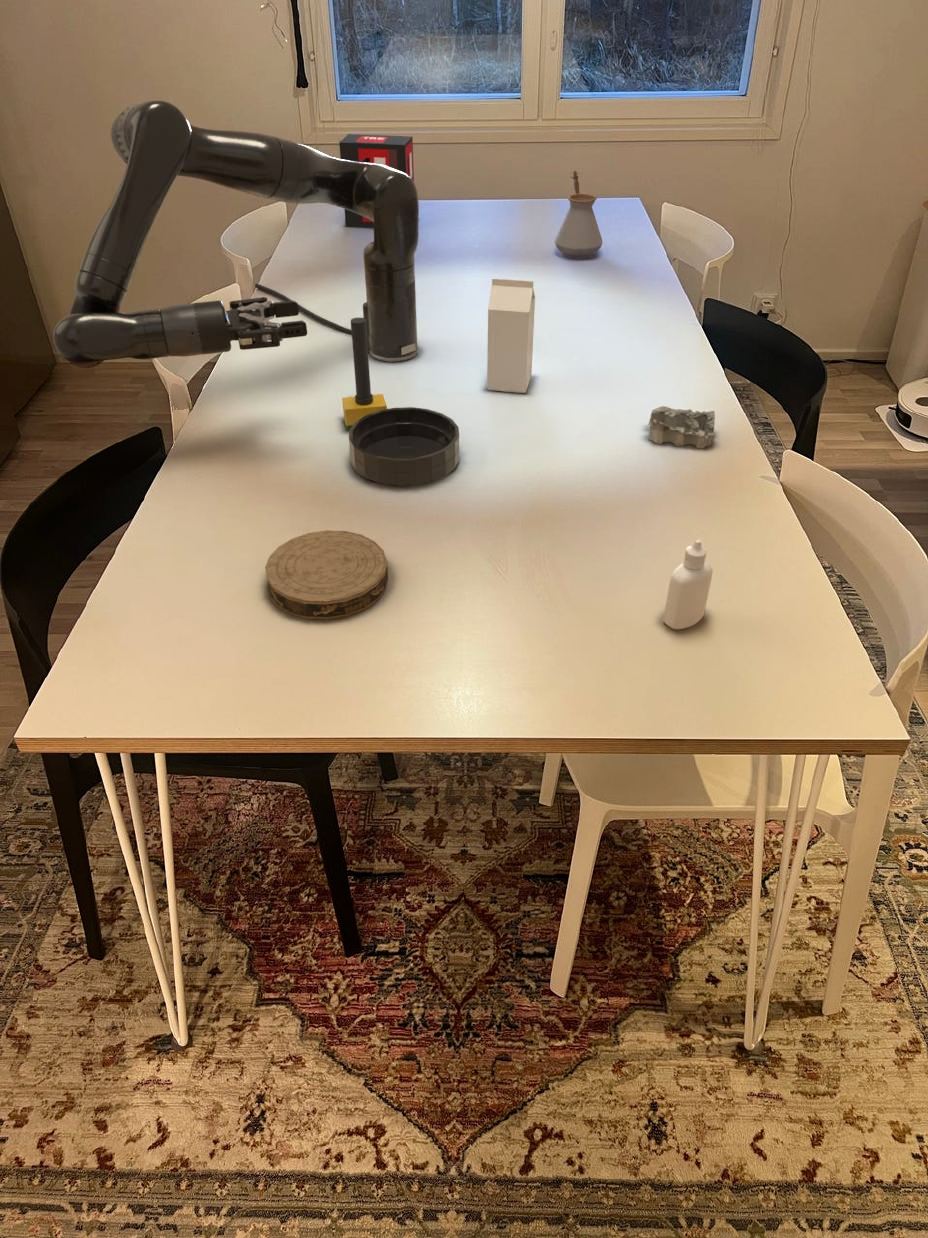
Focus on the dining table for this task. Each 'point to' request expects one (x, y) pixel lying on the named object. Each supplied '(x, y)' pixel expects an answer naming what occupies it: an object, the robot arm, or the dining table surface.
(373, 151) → the cleaning product box
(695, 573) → the eye dropper bottle
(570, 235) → the coffee pot
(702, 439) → the egg carton
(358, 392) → the sponge wand
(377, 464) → the bowl
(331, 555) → the wood slice
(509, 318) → the milk carton
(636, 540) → the dining table surface
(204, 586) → the dining table surface
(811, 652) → the dining table surface
